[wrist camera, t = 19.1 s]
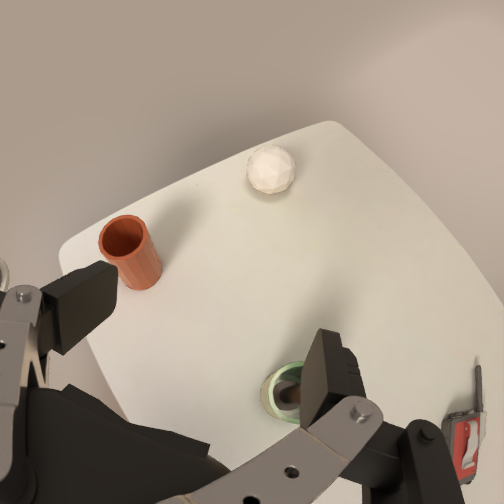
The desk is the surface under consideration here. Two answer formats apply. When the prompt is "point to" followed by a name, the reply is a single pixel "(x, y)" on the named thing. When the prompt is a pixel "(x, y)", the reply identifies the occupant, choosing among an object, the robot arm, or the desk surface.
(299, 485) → the robot arm
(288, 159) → the geometric ball
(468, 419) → the walkie-talkie
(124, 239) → the terracotta cup
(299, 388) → the muddler
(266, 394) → the green cup
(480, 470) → the desk surface
